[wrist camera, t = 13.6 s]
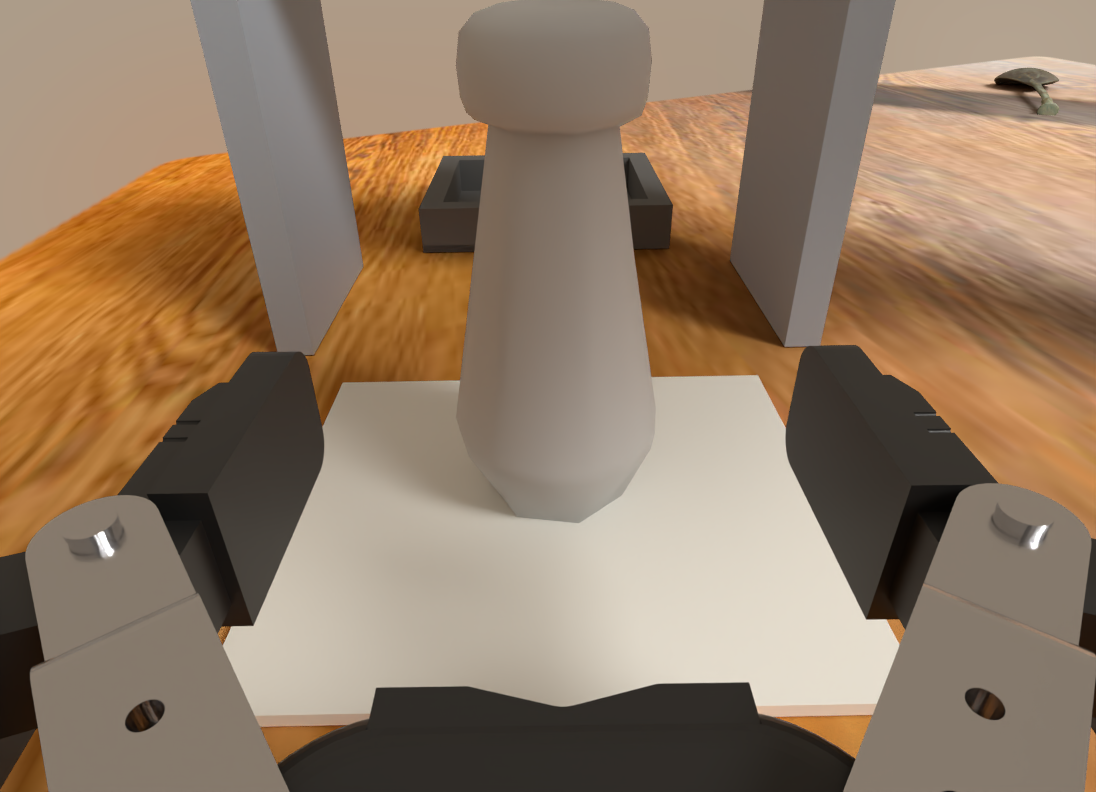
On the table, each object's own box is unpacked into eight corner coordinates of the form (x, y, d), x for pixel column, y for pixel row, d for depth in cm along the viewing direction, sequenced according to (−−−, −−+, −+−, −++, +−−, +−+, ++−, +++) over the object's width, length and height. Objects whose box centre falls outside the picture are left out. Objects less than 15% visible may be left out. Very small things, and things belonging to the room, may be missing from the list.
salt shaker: (450, 442, 24) (402, -3, 17) (610, 413, 25) (627, -9, 18) (487, 564, 19) (441, 13, 12) (682, 521, 20) (744, 2, 13)
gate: (757, 259, 38) (828, -206, 28) (819, 346, 30) (955, -276, 19) (335, 266, 38) (250, -198, 28) (278, 355, 30) (124, -265, 19)
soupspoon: (1048, 94, 87) (987, 93, 89) (1057, 64, 85) (995, 64, 88) (1082, 120, 70) (1006, 119, 72) (1094, 83, 68) (1016, 83, 70)
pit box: (642, 189, 50) (644, 152, 49) (669, 248, 40) (672, 204, 39) (446, 192, 50) (443, 156, 49) (423, 252, 40) (418, 208, 39)
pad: (756, 384, 27) (757, 375, 27) (924, 713, 15) (929, 702, 15) (344, 391, 27) (342, 382, 27) (195, 728, 15) (189, 716, 15)
